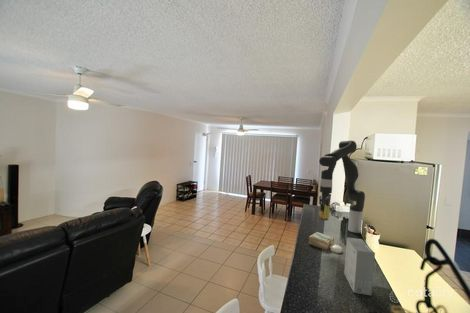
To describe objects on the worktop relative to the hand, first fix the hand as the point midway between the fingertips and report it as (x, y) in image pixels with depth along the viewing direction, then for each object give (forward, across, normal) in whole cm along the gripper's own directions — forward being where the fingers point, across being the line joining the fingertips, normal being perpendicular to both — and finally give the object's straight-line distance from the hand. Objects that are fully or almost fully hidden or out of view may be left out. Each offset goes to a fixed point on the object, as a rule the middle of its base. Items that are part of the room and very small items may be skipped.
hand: (324, 209), depth 144 cm
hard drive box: (+24, +29, +29) cm, 48 cm away
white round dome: (+24, +1, +10) cm, 26 cm away
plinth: (+24, 0, 0) cm, 24 cm away
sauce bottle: (+7, 0, 0) cm, 7 cm away
